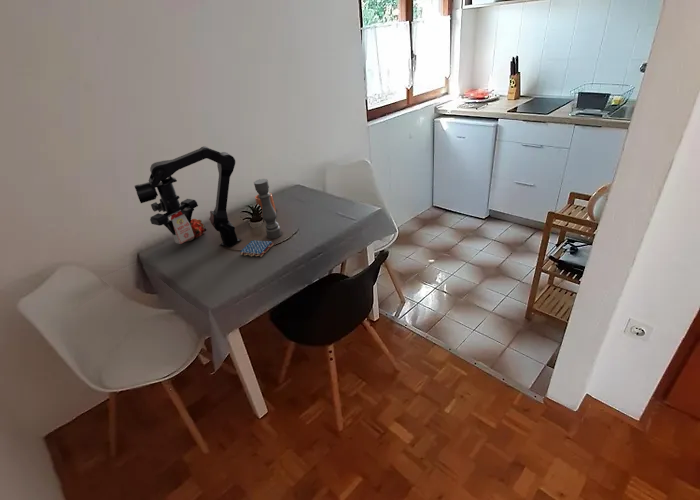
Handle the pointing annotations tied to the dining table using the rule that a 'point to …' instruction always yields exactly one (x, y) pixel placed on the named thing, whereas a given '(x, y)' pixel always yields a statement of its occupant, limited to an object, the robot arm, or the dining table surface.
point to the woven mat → (256, 248)
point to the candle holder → (267, 209)
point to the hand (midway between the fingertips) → (181, 230)
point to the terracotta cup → (261, 203)
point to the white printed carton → (182, 229)
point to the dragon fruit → (197, 227)
